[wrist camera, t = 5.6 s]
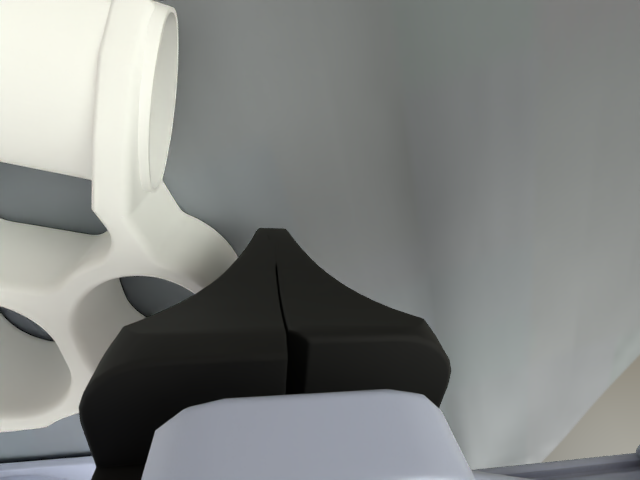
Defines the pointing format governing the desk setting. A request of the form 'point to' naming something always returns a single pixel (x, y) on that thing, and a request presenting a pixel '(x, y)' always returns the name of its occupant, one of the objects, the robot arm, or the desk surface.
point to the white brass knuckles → (107, 190)
